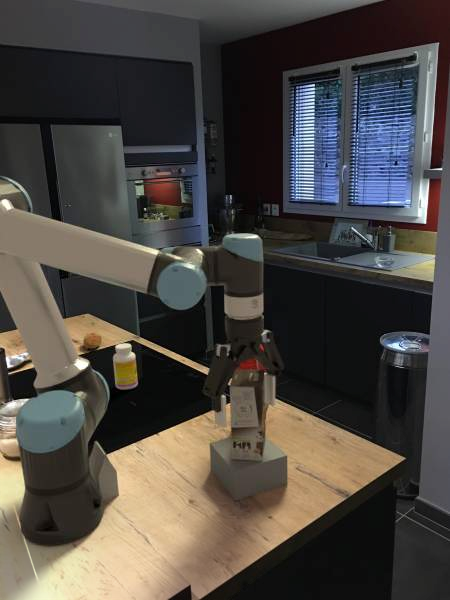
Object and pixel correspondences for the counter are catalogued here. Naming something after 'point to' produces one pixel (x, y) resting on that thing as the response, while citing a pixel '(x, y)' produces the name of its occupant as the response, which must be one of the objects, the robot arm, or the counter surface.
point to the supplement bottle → (125, 367)
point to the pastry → (92, 340)
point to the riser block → (248, 469)
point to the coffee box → (248, 414)
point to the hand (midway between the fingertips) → (246, 414)
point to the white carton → (103, 473)
